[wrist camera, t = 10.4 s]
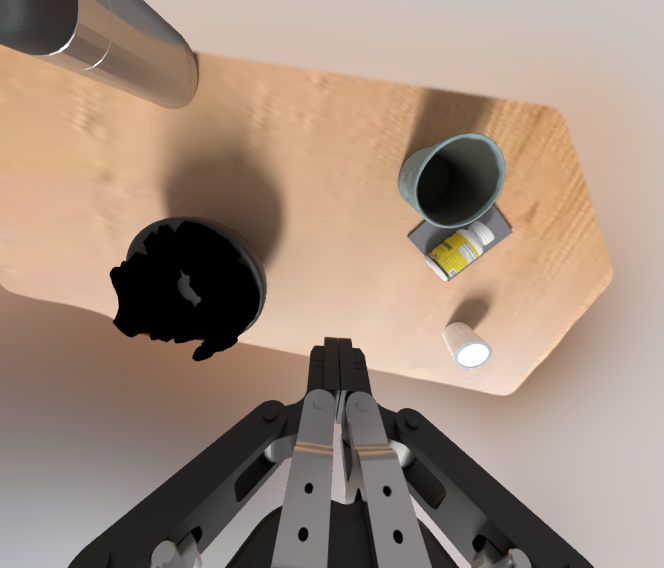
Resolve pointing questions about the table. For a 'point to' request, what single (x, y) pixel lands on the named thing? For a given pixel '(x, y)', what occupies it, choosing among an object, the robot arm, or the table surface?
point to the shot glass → (466, 346)
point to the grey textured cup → (453, 179)
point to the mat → (433, 235)
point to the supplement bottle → (459, 250)
